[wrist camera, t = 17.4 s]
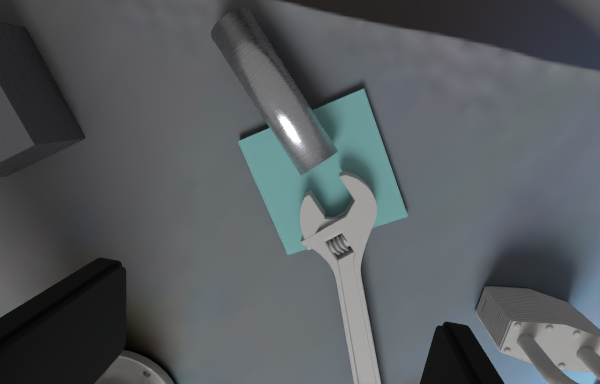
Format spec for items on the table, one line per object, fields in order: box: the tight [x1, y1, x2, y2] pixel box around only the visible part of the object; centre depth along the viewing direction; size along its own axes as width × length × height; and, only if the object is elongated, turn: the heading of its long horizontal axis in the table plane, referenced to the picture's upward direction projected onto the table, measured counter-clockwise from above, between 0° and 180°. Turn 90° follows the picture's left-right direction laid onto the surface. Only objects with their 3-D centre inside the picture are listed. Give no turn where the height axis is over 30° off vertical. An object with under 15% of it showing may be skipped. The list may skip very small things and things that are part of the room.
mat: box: [238, 89, 408, 255], centre depth 27 cm, size 11×11×1 cm
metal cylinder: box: [211, 8, 338, 175], centre depth 24 cm, size 3×3×12 cm
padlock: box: [475, 286, 600, 384], centre depth 23 cm, size 7×4×10 cm, turn 81°
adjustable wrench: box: [300, 171, 381, 384], centre depth 29 cm, size 25×6×2 cm, turn 7°
